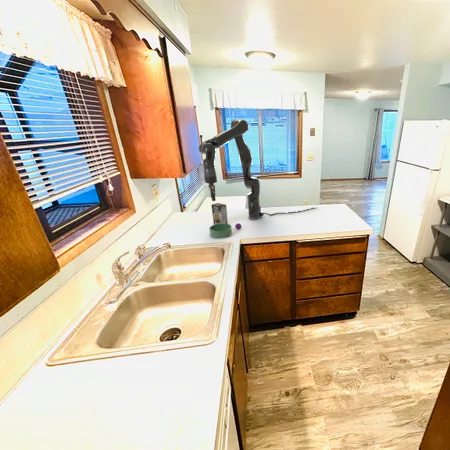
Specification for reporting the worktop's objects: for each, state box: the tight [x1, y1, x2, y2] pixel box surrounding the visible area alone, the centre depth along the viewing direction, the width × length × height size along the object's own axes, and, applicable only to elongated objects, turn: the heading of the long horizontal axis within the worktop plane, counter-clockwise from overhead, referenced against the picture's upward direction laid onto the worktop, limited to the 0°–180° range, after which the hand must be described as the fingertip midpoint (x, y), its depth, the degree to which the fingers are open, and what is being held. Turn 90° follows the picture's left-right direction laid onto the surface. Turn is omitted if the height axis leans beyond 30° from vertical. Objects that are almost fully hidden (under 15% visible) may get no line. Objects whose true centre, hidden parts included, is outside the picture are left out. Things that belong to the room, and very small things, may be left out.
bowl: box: [208, 223, 233, 239], centre depth 162 cm, size 14×14×6 cm
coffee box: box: [211, 202, 229, 225], centre depth 178 cm, size 9×6×16 cm
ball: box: [234, 222, 242, 230], centre depth 172 cm, size 4×4×4 cm
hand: (213, 199), depth 161 cm, fingers open, 8 cm apart
